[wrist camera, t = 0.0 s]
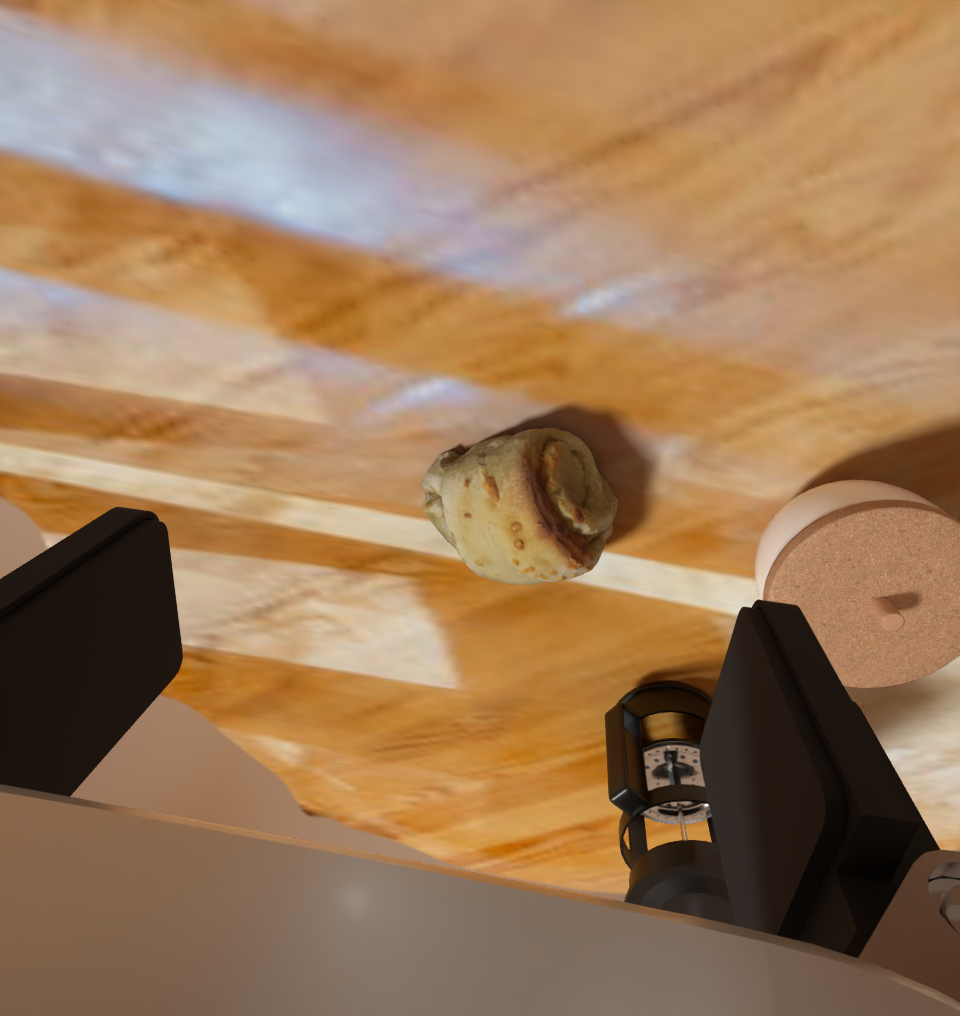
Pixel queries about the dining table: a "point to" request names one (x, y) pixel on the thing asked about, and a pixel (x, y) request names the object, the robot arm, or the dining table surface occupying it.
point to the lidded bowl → (868, 578)
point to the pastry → (522, 506)
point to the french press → (664, 805)
